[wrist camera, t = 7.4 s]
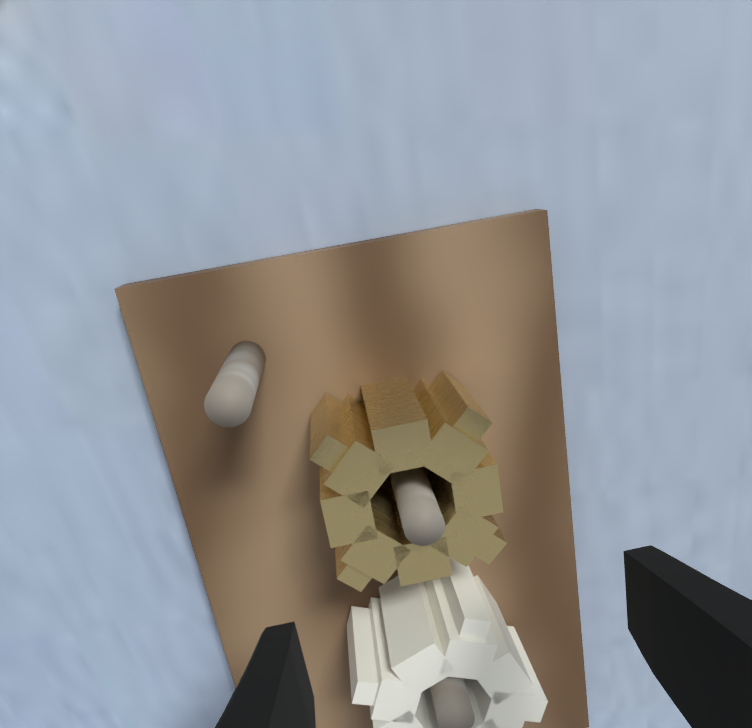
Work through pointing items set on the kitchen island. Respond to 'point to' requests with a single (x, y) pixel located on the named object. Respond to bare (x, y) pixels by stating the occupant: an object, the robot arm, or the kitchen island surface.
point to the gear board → (345, 376)
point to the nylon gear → (439, 654)
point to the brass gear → (398, 453)
